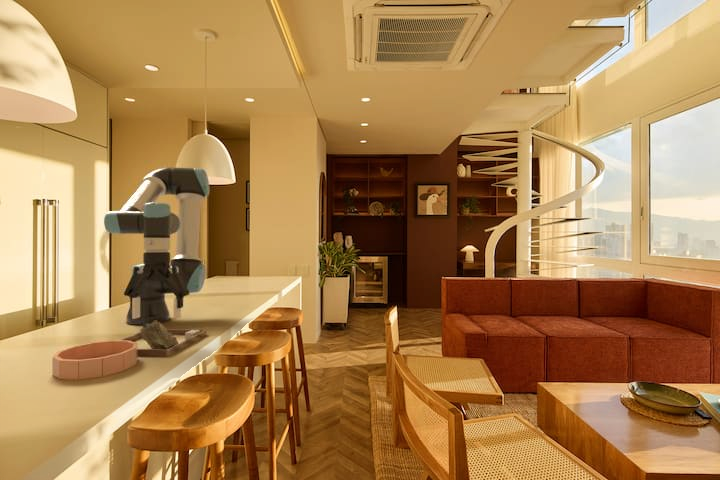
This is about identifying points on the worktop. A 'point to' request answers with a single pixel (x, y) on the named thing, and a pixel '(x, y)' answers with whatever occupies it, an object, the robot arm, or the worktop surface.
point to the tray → (171, 350)
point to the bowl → (94, 359)
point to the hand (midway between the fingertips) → (156, 318)
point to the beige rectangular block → (191, 333)
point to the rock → (157, 336)
